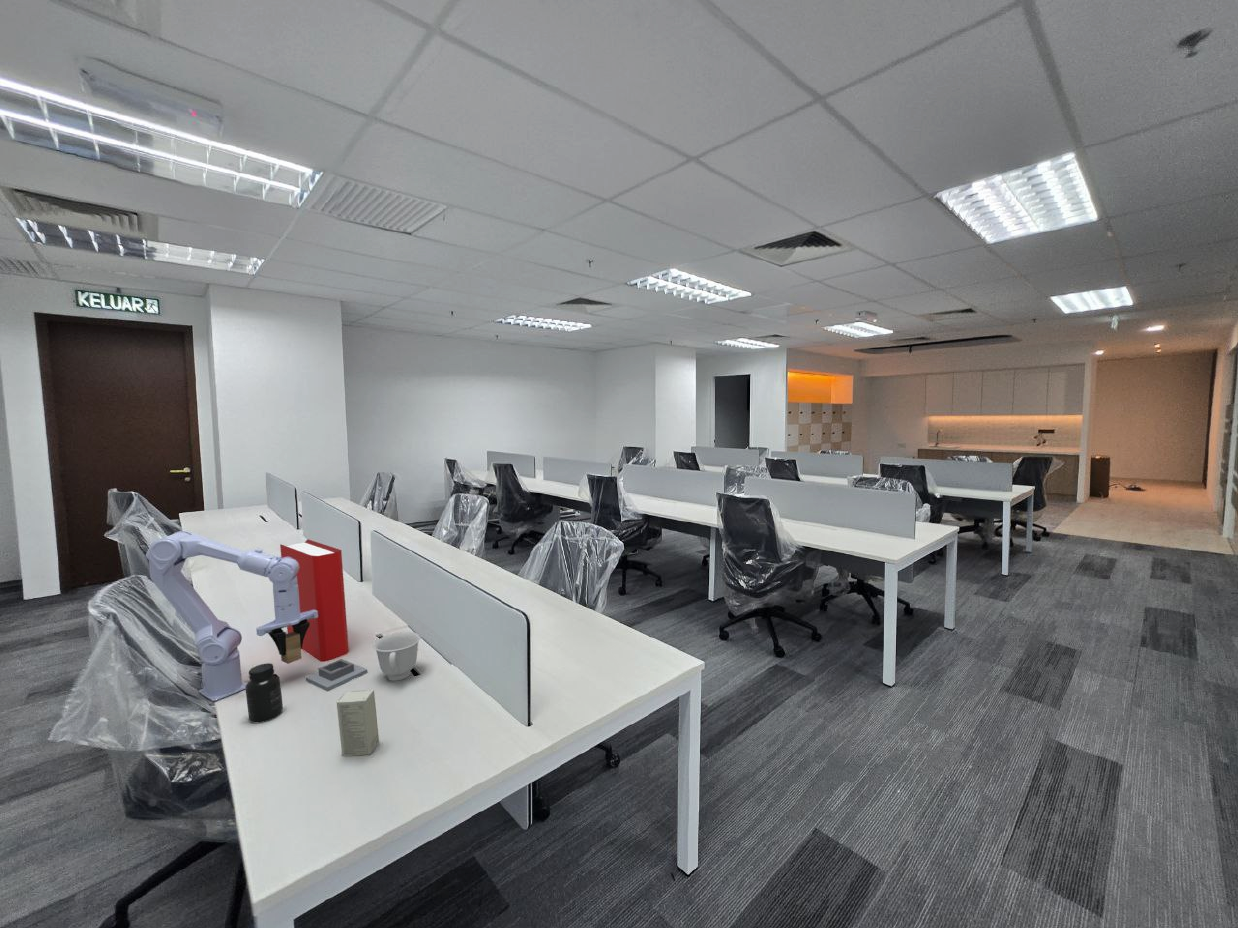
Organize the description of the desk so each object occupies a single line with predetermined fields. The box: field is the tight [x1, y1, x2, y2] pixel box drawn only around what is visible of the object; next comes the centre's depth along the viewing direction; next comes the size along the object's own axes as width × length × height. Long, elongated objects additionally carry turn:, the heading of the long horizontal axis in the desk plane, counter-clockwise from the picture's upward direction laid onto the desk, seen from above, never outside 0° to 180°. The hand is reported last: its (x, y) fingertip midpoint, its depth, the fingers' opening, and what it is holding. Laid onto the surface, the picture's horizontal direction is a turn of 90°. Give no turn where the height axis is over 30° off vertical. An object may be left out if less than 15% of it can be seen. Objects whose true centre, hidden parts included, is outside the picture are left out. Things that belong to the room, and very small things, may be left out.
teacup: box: [372, 631, 421, 681], centre depth 136 cm, size 12×15×10 cm
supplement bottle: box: [244, 663, 284, 723], centre depth 120 cm, size 7×7×12 cm
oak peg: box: [280, 632, 303, 665], centre depth 136 cm, size 4×4×7 cm
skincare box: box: [336, 689, 380, 757], centre depth 106 cm, size 6×4×12 cm
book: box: [279, 539, 350, 663], centre depth 157 cm, size 27×8×32 cm, turn 52°
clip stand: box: [305, 658, 368, 692], centre depth 138 cm, size 11×11×3 cm
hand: (290, 651), depth 136 cm, fingers closed on oak peg, 3 cm apart
